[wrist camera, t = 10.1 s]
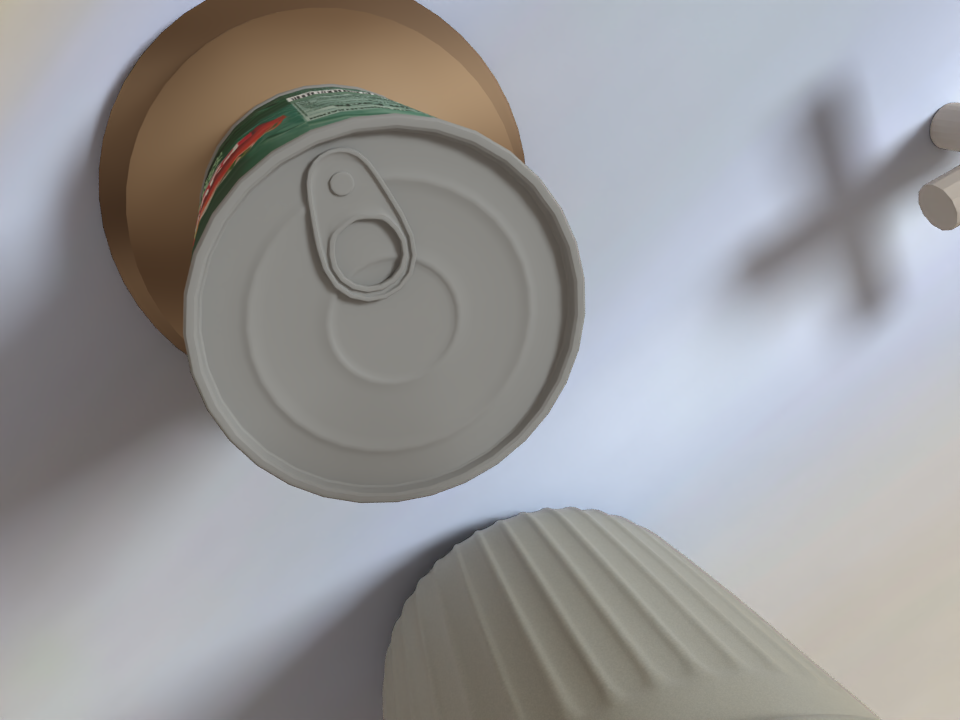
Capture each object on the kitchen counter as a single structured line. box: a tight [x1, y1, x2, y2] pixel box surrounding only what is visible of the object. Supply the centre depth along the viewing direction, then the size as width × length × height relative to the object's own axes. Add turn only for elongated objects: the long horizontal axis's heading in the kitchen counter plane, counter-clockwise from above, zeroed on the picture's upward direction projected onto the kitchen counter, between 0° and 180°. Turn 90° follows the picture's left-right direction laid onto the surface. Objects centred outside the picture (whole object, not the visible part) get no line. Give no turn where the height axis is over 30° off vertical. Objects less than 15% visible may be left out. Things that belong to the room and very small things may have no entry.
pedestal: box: [99, 0, 525, 355], centre depth 28 cm, size 14×14×3 cm
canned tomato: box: [183, 84, 585, 503], centre depth 22 cm, size 8×8×11 cm
